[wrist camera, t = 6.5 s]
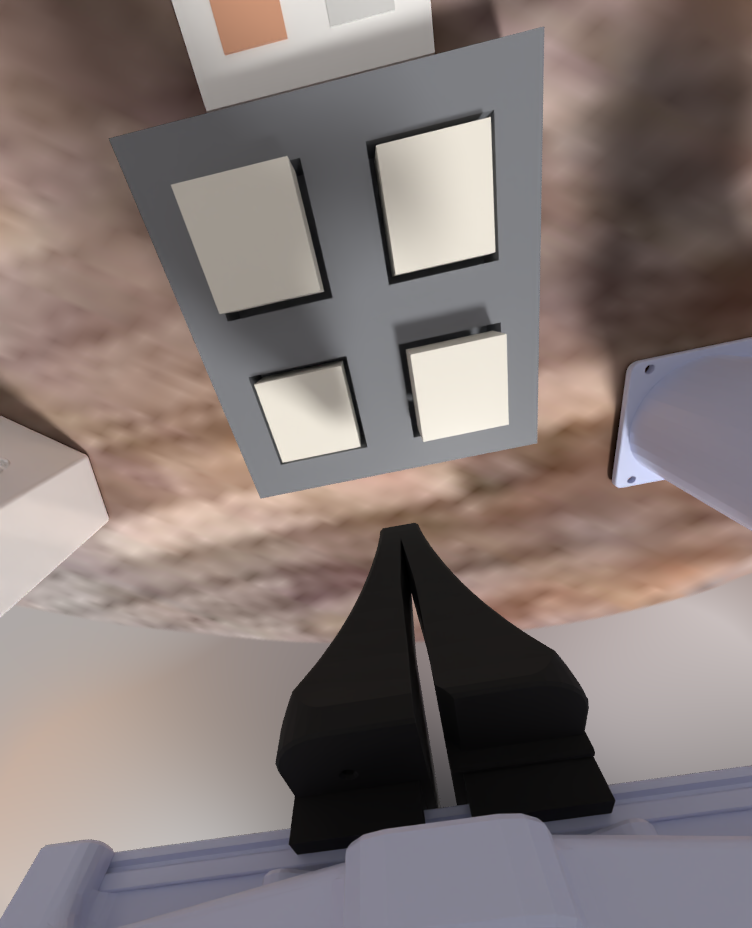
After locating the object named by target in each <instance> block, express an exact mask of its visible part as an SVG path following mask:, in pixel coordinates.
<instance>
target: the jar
mask: <svg viewBox="0 0 752 928" xmlns="http://www.w3.org/2000/svg"><path fill="white" fill-rule="evenodd" d="M108 520H109V517H108V514H107V511H106V508H105V505H104V502H103V499H102V496H101V493H100V490H99V487H98V484H97V481H96V478H95V475H94V472H93V469H92V466H91V463H90V461H89V458H88V456H87V455H86V454H83V453H81V452H79V451H77V450H75V449H73V448H70V447H68V446H66V445H64V444H62V443H59V442H57V441H55V440H53V439H51V438H49V437H46V436H44V435H42V434H40V433H38V432H35V431H33V430H31V429H29V428H27V427H25V426H22V425H20V424H18V423H16V422H14V421H11V420H9V419H7V418H5V417H3V416H0V618H1V617H2V616H3V615H4V614H5V613H6V612H7V611H8V610H9V609H11V608H12V607H13V606H14V605H15V604H16V603H17V602H18V601H20V600H21V599H22V598H23V597H24V596H25V595H26V594H27V593H28V592H30V591H31V590H32V589H33V588H34V587H35V586H36V585H37V584H39V583H40V582H41V581H42V580H43V579H44V578H45V577H46V576H47V575H49V574H50V573H51V572H52V571H53V570H54V569H55V568H56V567H58V566H59V565H60V564H61V563H62V562H63V561H64V560H65V559H66V558H68V557H69V556H70V555H71V554H72V553H73V552H74V551H75V550H77V549H78V548H79V547H80V546H81V545H82V544H83V543H84V542H85V541H87V540H88V539H89V538H90V537H91V536H92V535H93V534H94V533H95V532H97V531H98V530H99V529H100V528H101V527H102V526H103V525H104V524H106V523H107V522H108Z"/></svg>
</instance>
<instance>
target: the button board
mask: <svg viewBox="0 0 752 928" xmlns="http://www.w3.org/2000/svg"><path fill="white" fill-rule="evenodd" d="M543 70H544V27H540V28H536V29H532V30H529V31H525V32H521V33H517V34H513V35H509V36H505V37H501V38H497V39H494V40H490V41H486V42H482V43H478V44H474V45H470V46H466V47H462V48H459V49H455V50H451V51H447V52H443V53H439V54H435V55H431V56H428V57H424V58H420V59H416V60H412V61H408V62H404V63H400V64H396V65H393V66H389V67H385V68H381V69H377V70H373V71H369V72H365V73H361V74H358V75H354V76H350V77H346V78H342V79H338V80H334V81H330V82H326V83H323V84H319V85H315V86H311V87H307V88H303V89H299V90H295V91H291V92H288V93H284V94H280V95H276V96H272V97H268V98H264V99H260V100H256V101H253V102H249V103H245V104H241V105H237V106H233V107H229V108H225V109H221V110H218V111H214V112H210V113H206V114H202V115H198V116H194V117H190V118H186V119H183V120H179V121H175V122H171V123H167V124H163V125H159V126H155V127H151V128H148V129H144V130H140V131H136V132H132V133H128V134H124V135H120V136H117V137H113V138H109V141H110V143H111V145H112V148H113V150H114V152H115V155H116V157H117V160H118V162H119V164H120V167H121V169H122V171H123V174H124V176H125V178H126V181H127V183H128V186H129V188H130V190H131V193H132V195H133V197H134V200H135V202H136V204H137V207H138V209H139V212H140V214H141V216H142V219H143V221H144V223H145V226H146V228H147V231H148V233H149V235H150V238H151V240H152V242H153V245H154V247H155V249H156V252H157V254H158V257H159V259H160V261H161V264H162V266H163V268H164V271H165V273H166V276H167V278H168V280H169V283H170V285H171V287H172V290H173V292H174V294H175V297H176V299H177V302H178V304H179V306H180V309H181V311H182V313H183V316H184V318H185V320H186V323H187V325H188V328H189V330H190V332H191V335H192V337H193V339H194V342H195V344H196V347H197V349H198V351H199V354H200V356H201V358H202V361H203V363H204V365H205V368H206V370H207V373H208V375H209V377H210V380H211V382H212V384H213V387H214V389H215V391H216V394H217V396H218V399H219V401H220V403H221V406H222V408H223V410H224V413H225V415H226V418H227V420H228V422H229V425H230V427H231V429H232V432H233V434H234V436H235V439H236V441H237V444H238V446H239V448H240V451H241V453H242V455H243V458H244V460H245V463H246V465H247V467H248V470H249V472H250V474H251V477H252V479H253V481H254V484H255V486H256V489H257V491H258V493H259V496H260V498H265V497H270V496H275V495H280V494H285V493H290V492H295V491H300V490H305V489H310V488H315V487H320V486H325V485H330V484H335V483H340V482H345V481H350V480H355V479H360V478H365V477H370V476H375V475H380V474H385V473H390V472H395V471H400V470H405V469H410V468H415V467H420V466H425V465H430V464H435V463H440V462H445V461H450V460H455V459H460V458H465V457H470V456H475V455H480V454H485V453H490V452H495V451H500V450H505V449H510V448H515V447H520V446H525V445H530V444H535V443H537V417H538V359H539V302H540V244H541V186H542V128H543ZM489 117H491V140H492V169H493V198H494V227H495V252H494V253H491V254H488V255H485V256H482V257H478V258H473V259H469V260H464V261H460V262H456V263H451V264H447V265H442V266H438V267H434V268H429V269H425V270H420V271H416V272H412V273H407V274H403V275H398V276H394V277H392V273H391V266H390V260H389V254H388V247H387V241H386V235H385V228H384V222H383V215H382V209H381V203H380V196H379V190H378V184H377V177H376V171H375V164H374V158H375V150H376V145H379V144H383V143H387V142H391V141H395V140H399V139H403V138H407V137H412V136H416V135H420V134H424V133H428V132H432V131H436V130H440V129H444V128H448V127H452V126H456V125H460V124H464V123H468V122H472V121H476V120H480V119H485V118H489ZM285 156H288V158H289V160H290V162H291V164H292V166H293V168H294V170H295V172H296V176H297V180H298V185H299V189H300V193H301V197H302V201H303V205H304V209H305V214H306V218H307V222H308V226H309V230H310V234H311V238H312V243H313V247H314V251H315V255H316V259H317V263H318V267H319V272H320V276H321V280H322V284H323V288H324V292H321V293H316V294H312V295H307V296H303V297H299V298H294V299H290V300H285V301H281V302H277V303H272V304H268V305H263V306H259V307H255V308H250V309H246V310H241V311H237V312H232V313H224V314H219V312H218V309H217V306H216V304H215V301H214V298H213V296H212V293H211V290H210V288H209V285H208V282H207V280H206V277H205V274H204V272H203V269H202V266H201V264H200V261H199V259H198V256H197V253H196V251H195V248H194V245H193V243H192V240H191V237H190V235H189V232H188V229H187V227H186V224H185V221H184V219H183V216H182V213H181V211H180V208H179V206H178V203H177V200H176V198H175V195H174V192H173V190H172V187H171V185H172V184H176V183H180V182H184V181H188V180H192V179H196V178H200V177H204V176H208V175H212V174H216V173H220V172H224V171H228V170H232V169H236V168H240V167H244V166H248V165H252V164H256V163H260V162H264V161H268V160H272V159H276V158H281V157H285ZM488 331H497V332H501V333H505V334H507V370H508V412H509V425H504V426H499V427H494V428H489V429H484V430H480V431H475V432H470V433H465V434H460V435H455V436H450V437H445V438H440V439H435V440H430V441H426V442H423V440H422V438H421V435H420V433H419V431H418V427H417V420H416V414H415V407H414V401H413V394H412V388H411V381H410V375H409V368H408V362H407V355H406V349H410V348H414V347H419V346H424V345H428V344H433V343H437V342H442V341H447V340H451V339H456V338H460V337H465V336H470V335H474V334H479V333H483V332H488ZM340 360H343V364H344V368H345V373H346V377H347V381H348V385H349V389H350V393H351V398H352V402H353V406H354V410H355V414H356V419H357V423H358V427H359V431H360V441H361V447H357V448H352V449H347V450H342V451H337V452H332V453H328V454H323V455H318V456H313V457H308V458H303V459H298V460H293V461H289V462H284V463H283V462H282V459H281V457H280V454H279V451H278V448H277V446H276V443H275V440H274V437H273V435H272V432H271V429H270V427H269V424H268V421H267V418H266V416H265V413H264V410H263V407H262V405H261V402H260V399H259V396H258V394H257V391H256V388H255V386H254V384H256V383H257V382H258V381H259V380H260V379H262V378H263V377H266V376H271V375H275V374H280V373H284V372H289V371H294V370H298V369H303V368H307V367H312V366H317V365H321V364H326V363H330V362H335V361H340Z"/></svg>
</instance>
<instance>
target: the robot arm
mask: <svg viewBox="0 0 752 928" xmlns="http://www.w3.org/2000/svg"><path fill="white" fill-rule="evenodd" d="M648 365H649V368H648V370H647V371H646V372H645V368H646V367H647V366H648ZM630 477H631V478H630ZM628 478H630V479H629V480H628ZM659 480H667V481H668V482H670V483H672V484H673V485H675V486H677V487H679V488H680V489H682V490H684V491H685V492H687V493H689V494H690V495H692V496H694V497H695V498H697V499H699V500H700V501H702V502H704V503H705V504H707V505H709V506H710V507H712V508H714V509H715V510H717V511H719V512H721V513H722V514H724V515H726V516H727V517H729V518H731V519H732V520H734V521H736V522H737V523H739V524H741V525H742V526H744V527H746V528H747V529H749V530H751V531H752V337H749V338H744V339H739V340H734V341H730V342H725V343H720V344H715V345H710V346H706V347H701V348H696V349H691V350H686V351H682V352H677V353H672V354H667V355H663V356H658V357H653V358H648V359H643V360H639V361H635V362H633V363H632V364H631V365H630V366H629V367H628V369H627V372H626V379H625V386H624V394H623V401H622V408H621V416H620V423H619V431H618V438H617V446H616V453H615V461H614V468H613V475H612V483H613V484H614V485H615V486H616V487H618V488H623V487H628V486H633V485H639V484H644V483H649V482H654V481H659ZM411 593H412V595H411ZM412 597H413V600H414V604H415V607H416V611H417V615H418V618H419V622H420V626H421V629H422V633H423V636H424V640H425V644H426V647H427V651H428V655H429V660H430V664H431V670H432V675H433V680H434V685H435V691H436V696H437V701H438V707H439V712H440V717H441V723H442V728H443V733H444V739H445V744H446V749H447V754H448V760H449V765H450V770H451V776H452V780H453V786H454V792H455V797H456V802H457V806H451V807H443V808H441V807H440V801H439V795H438V789H437V783H436V777H435V771H434V765H433V759H432V753H431V747H430V741H429V734H428V728H427V722H426V716H425V711H424V704H423V697H422V691H421V685H420V679H419V673H418V666H417V660H416V649H415V636H414V622H413V609H412ZM588 709H589V706H588V698H587V697H586V695H585V693H584V691H583V689H582V687H581V686H580V684H579V682H578V681H577V679H576V678H575V677H574V675H573V674H572V673H571V671H570V670H569V668H568V667H567V665H566V664H565V663H564V662H563V660H562V659H561V658H560V657H559V655H558V654H557V653H556V652H555V651H554V650H552V649H550V648H549V647H547V646H546V645H544V644H542V643H541V642H539V641H537V640H536V639H534V638H533V637H531V636H529V635H528V634H526V633H525V632H523V631H522V630H520V629H519V628H517V627H516V626H514V625H513V624H511V623H510V622H509V621H507V620H506V619H505V618H503V617H502V616H501V615H499V614H498V613H497V612H495V611H494V610H493V609H492V608H490V607H489V606H488V605H486V604H485V603H484V602H483V601H482V600H480V599H479V598H478V597H477V596H476V595H475V594H474V593H472V592H471V591H470V590H469V589H468V588H467V587H466V586H465V585H464V584H463V583H462V582H461V581H460V580H459V579H458V578H457V577H456V576H455V575H454V574H453V573H452V572H451V571H450V569H449V568H448V567H447V566H446V565H445V564H444V563H443V561H442V560H441V559H440V558H439V556H438V555H437V554H436V553H435V551H434V550H433V549H432V547H431V546H430V544H429V543H428V541H427V540H426V539H425V537H424V535H423V534H422V532H421V530H420V528H419V525H418V524H416V523H411V524H406V525H400V526H394V527H389V528H383V529H382V530H381V531H380V538H379V543H378V547H377V551H376V554H375V558H374V560H373V563H372V566H371V569H370V572H369V575H368V577H367V579H366V582H365V584H364V587H363V589H362V591H361V593H360V595H359V597H358V599H357V601H356V603H355V605H354V607H353V609H352V611H351V613H350V614H349V616H348V618H347V620H346V621H345V623H344V625H343V626H342V628H341V629H340V631H339V633H338V634H337V636H336V637H335V639H334V640H333V641H332V643H331V644H330V646H329V647H328V648H327V650H326V651H325V653H324V654H323V655H322V657H321V658H320V659H319V661H318V662H317V663H316V665H315V666H314V667H313V668H312V669H311V671H310V672H309V673H308V674H307V675H306V676H305V678H304V679H303V680H302V681H301V682H300V683H299V685H298V686H297V687H296V688H295V689H294V691H293V692H292V695H291V698H290V701H289V704H288V707H287V710H286V713H285V717H284V720H283V724H282V728H281V733H280V740H279V745H278V751H277V757H276V766H277V769H278V771H279V773H280V774H281V776H282V777H283V779H284V780H285V782H286V783H287V785H288V786H289V788H290V789H291V791H292V792H293V794H294V795H295V800H294V807H293V816H292V823H291V828H289V829H282V830H275V831H268V832H260V833H253V834H245V835H238V836H231V837H223V838H216V839H209V840H201V841H195V842H187V843H180V844H172V845H165V846H158V847H150V848H143V849H136V850H128V851H121V852H113V849H112V848H111V847H109V846H108V845H107V844H105V843H103V842H101V841H97V840H79V841H73V842H65V843H58V844H51V845H46V846H45V847H43V848H41V850H40V852H39V853H38V855H37V857H36V859H35V860H34V862H33V864H32V865H31V867H30V869H29V871H28V872H27V874H26V876H25V878H24V879H23V881H22V883H21V884H20V886H19V888H18V890H17V891H16V893H15V895H14V897H13V899H12V900H11V902H10V904H9V905H8V907H7V909H6V910H5V912H4V914H3V916H2V917H1V919H0V928H752V765H751V766H744V767H736V768H730V769H722V770H715V771H707V772H699V773H692V774H685V775H677V776H671V777H664V778H656V779H648V780H641V781H634V782H626V783H619V784H612V785H608V784H607V783H606V781H605V779H604V777H603V775H602V773H601V771H600V769H599V767H598V765H597V763H596V761H595V759H594V757H593V756H594V755H595V751H594V748H593V746H592V744H591V742H590V740H589V738H588V736H587V735H586V733H585V726H586V720H587V714H588Z"/></svg>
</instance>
